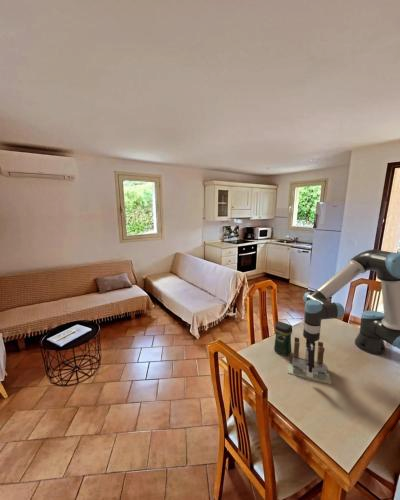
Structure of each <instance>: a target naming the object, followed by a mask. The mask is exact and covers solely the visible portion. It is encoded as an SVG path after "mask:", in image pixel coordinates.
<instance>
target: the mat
mask: <svg viewBox="0 0 400 500" xmlns="http://www.w3.org/2000/svg"><path fill="white" fill-rule="evenodd" d="M287 374H289V375H293V376H297V377H301V378H306V379H309V380H314V381H318V382H321V383H325V384H329V385H330V384H332V381H331V377H330V372H327V374H321V373H317V372H313V378H312V377H308V376H307V370H304V369H300V368H296V367H292V363H288V364H287Z"/></svg>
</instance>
